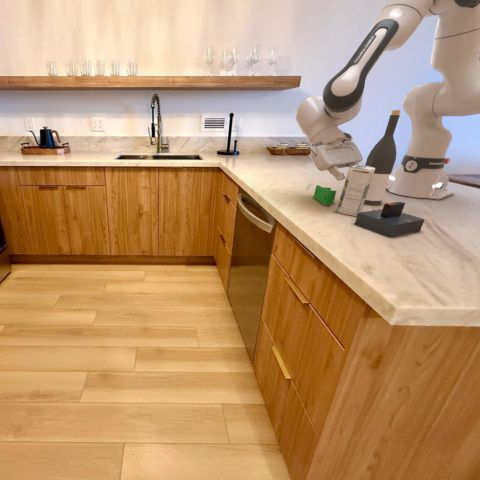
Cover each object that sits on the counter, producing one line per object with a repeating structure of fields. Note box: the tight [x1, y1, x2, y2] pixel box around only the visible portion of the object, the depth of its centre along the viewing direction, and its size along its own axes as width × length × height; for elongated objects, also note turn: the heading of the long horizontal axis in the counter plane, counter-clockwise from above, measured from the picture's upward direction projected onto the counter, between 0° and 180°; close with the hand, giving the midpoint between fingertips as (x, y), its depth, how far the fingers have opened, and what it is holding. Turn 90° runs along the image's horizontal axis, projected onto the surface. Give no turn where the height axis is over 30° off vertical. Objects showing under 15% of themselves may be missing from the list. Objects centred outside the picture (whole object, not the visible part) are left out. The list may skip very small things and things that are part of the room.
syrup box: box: [336, 164, 376, 217], centre depth 89 cm, size 6×6×14 cm
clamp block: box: [354, 208, 426, 238], centre depth 79 cm, size 12×10×4 cm
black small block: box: [381, 201, 406, 218], centre depth 78 cm, size 6×2×4 cm, turn 111°
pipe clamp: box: [313, 184, 337, 207], centre depth 102 cm, size 11×4×5 cm, turn 173°
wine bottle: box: [364, 109, 401, 206], centre depth 96 cm, size 8×8×30 cm
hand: (350, 178), depth 89 cm, fingers open, 8 cm apart
